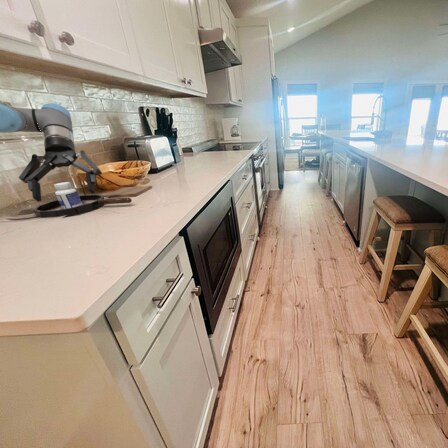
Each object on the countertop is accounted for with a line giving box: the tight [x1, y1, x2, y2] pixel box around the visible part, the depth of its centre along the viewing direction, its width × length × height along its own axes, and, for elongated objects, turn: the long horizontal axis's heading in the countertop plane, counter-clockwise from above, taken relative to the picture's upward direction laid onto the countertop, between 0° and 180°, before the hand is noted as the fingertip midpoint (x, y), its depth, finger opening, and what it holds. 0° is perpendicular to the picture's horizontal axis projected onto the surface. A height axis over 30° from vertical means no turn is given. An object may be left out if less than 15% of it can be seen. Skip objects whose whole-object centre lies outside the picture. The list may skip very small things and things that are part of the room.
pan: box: [33, 194, 133, 219], centre depth 80 cm, size 28×17×3 cm, turn 93°
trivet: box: [103, 185, 153, 199], centre depth 97 cm, size 12×12×1 cm
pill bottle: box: [53, 181, 84, 209], centre depth 79 cm, size 5×5×9 cm
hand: (65, 195), depth 77 cm, fingers open, 13 cm apart
